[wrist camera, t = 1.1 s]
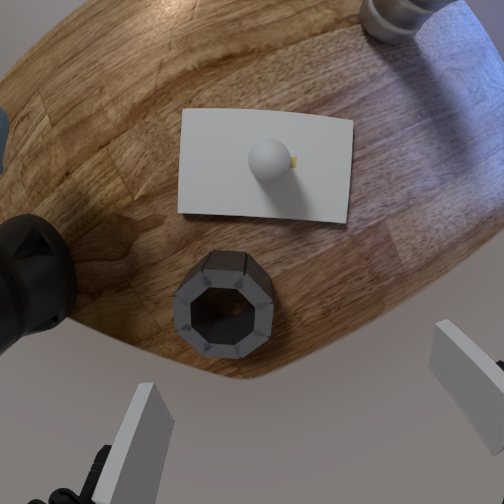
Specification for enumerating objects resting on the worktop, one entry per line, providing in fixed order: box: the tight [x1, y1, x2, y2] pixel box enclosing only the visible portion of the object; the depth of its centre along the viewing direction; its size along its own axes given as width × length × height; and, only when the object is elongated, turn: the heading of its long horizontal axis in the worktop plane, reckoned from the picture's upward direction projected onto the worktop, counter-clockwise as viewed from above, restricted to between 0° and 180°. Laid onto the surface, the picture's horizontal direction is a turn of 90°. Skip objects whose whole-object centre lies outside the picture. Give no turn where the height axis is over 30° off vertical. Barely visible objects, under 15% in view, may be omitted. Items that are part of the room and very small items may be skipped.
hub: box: [173, 250, 274, 359], centre depth 27 cm, size 8×8×6 cm
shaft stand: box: [178, 108, 353, 223], centre depth 23 cm, size 16×10×8 cm, turn 87°
